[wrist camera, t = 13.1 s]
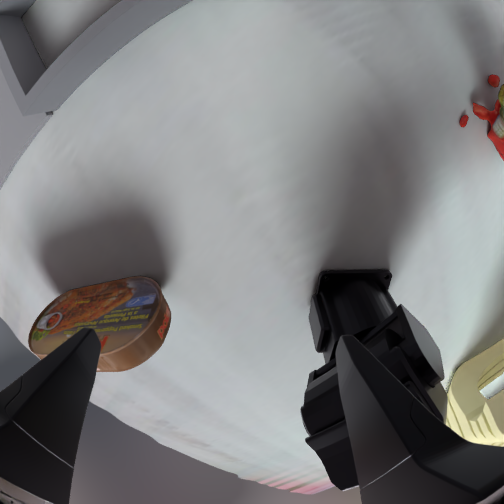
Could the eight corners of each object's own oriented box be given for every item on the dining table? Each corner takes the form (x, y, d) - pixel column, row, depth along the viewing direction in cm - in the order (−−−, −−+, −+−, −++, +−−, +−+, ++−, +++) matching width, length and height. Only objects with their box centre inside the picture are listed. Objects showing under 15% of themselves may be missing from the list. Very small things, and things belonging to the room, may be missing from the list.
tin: (171, 268, 22) (140, 346, 15) (185, 298, 23) (163, 377, 16) (52, 292, 24) (12, 348, 16) (66, 315, 25) (32, 371, 18)
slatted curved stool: (453, 341, 28) (506, 450, 12) (527, 294, 25) (585, 375, 9) (429, 420, 41) (450, 487, 26) (487, 388, 38) (513, 448, 23)
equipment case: (197, -3, 12) (184, -26, 8) (-5, 198, 18) (-31, 215, 15) (125, -79, 6) (107, -98, 3) (-44, 113, 13) (-69, 121, 9)
